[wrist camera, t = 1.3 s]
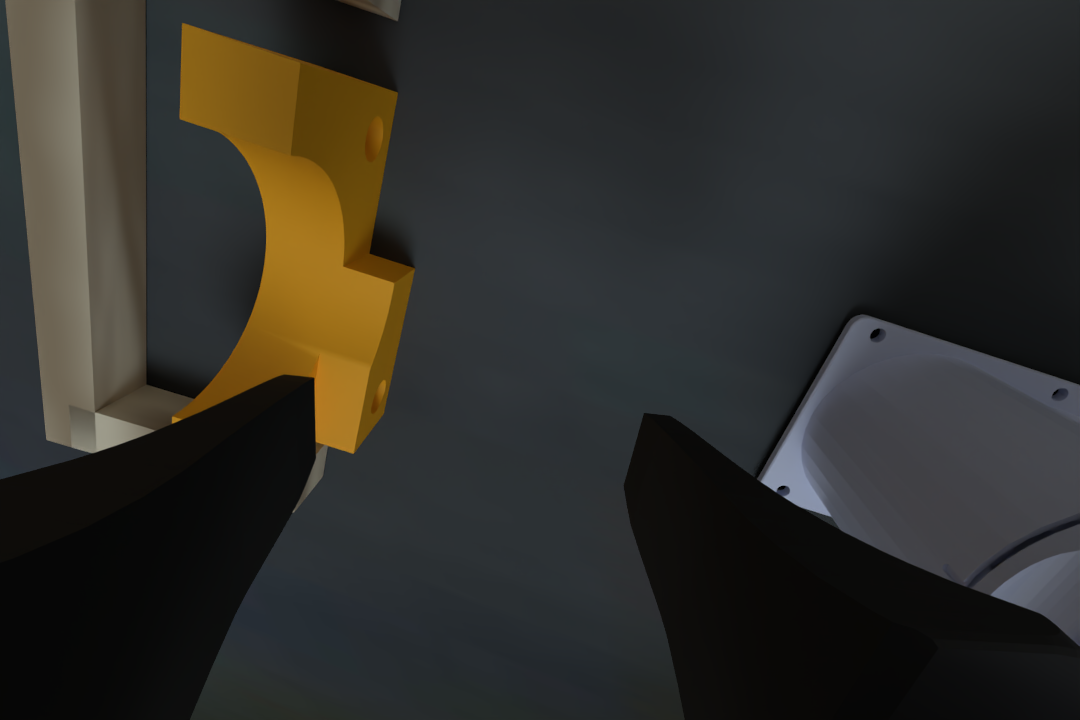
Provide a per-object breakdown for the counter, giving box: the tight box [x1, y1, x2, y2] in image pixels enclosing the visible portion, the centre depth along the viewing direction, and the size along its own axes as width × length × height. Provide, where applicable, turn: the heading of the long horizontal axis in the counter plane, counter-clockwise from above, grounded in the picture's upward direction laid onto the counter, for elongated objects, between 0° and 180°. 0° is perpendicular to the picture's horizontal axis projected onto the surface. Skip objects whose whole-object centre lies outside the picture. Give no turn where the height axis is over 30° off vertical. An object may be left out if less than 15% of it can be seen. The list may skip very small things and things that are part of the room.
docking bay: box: [5, 0, 401, 513], centre depth 18 cm, size 10×20×2 cm, turn 163°
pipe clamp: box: [172, 23, 415, 454], centre depth 16 cm, size 12×4×6 cm, turn 163°
